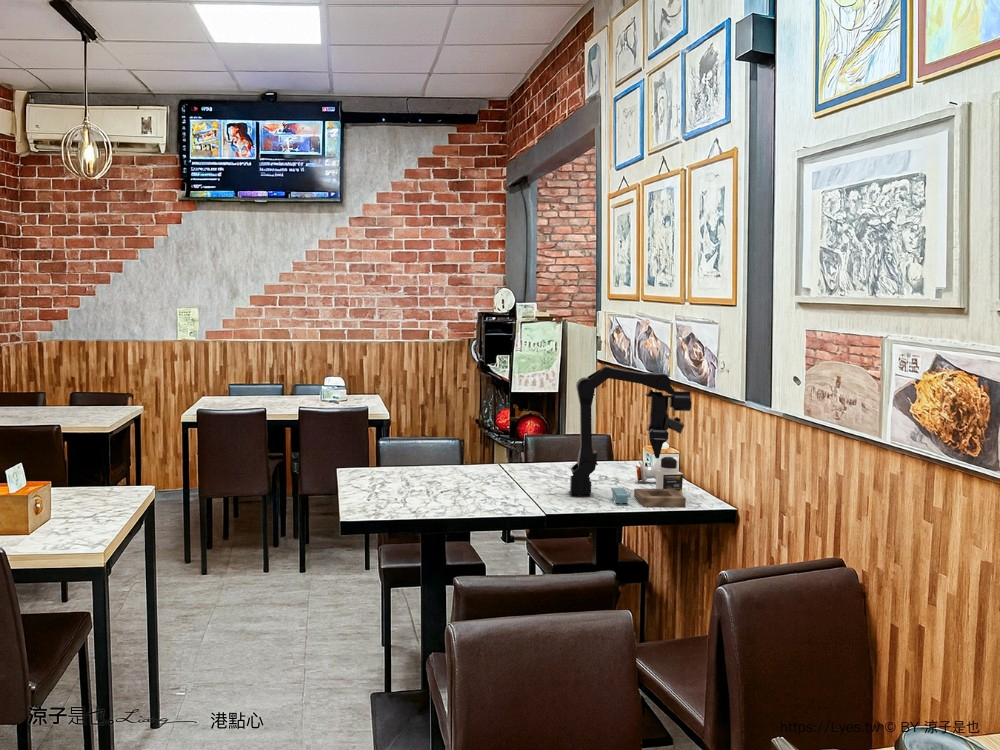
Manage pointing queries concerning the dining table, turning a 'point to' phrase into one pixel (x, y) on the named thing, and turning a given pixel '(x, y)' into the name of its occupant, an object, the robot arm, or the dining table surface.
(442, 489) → the dining table surface
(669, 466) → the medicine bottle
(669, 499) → the brown square frame
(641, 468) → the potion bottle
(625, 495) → the block
